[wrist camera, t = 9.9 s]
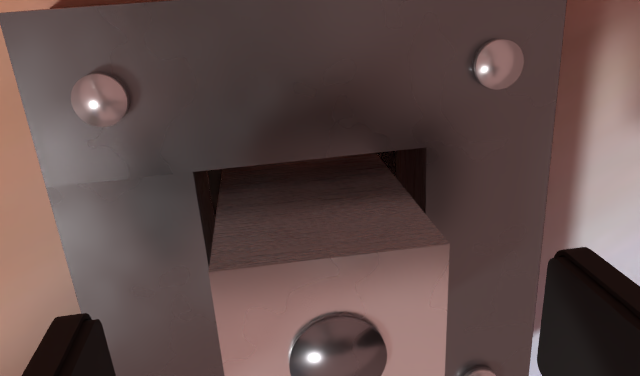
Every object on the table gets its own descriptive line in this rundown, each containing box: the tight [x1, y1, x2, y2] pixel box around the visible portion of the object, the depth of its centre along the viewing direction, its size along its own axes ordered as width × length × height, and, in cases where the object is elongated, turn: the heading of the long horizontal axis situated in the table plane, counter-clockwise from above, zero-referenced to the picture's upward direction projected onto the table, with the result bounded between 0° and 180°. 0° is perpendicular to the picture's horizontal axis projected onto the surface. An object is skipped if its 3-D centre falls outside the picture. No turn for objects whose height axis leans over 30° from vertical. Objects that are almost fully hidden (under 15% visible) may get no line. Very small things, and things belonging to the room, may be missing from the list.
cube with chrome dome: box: [208, 153, 450, 376], centre depth 14 cm, size 5×5×7 cm
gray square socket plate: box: [0, 0, 567, 376], centre depth 15 cm, size 14×13×3 cm
